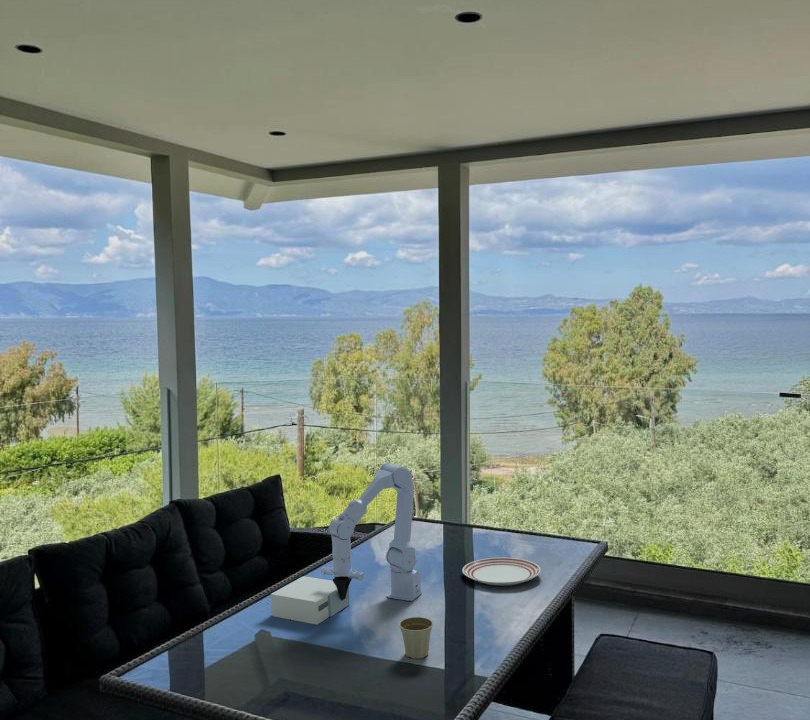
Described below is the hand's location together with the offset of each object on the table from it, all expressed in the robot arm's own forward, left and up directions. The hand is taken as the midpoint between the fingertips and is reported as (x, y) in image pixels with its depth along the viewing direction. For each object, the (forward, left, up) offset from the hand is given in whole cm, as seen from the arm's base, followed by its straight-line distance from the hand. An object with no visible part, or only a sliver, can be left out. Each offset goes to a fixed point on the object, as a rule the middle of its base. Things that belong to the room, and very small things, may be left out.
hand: (343, 599), depth 243 cm
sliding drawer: (+7, 0, -4) cm, 8 cm away
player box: (+10, +3, -4) cm, 12 cm away
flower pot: (-34, +18, -4) cm, 39 cm away
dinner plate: (-34, -50, -4) cm, 61 cm away
